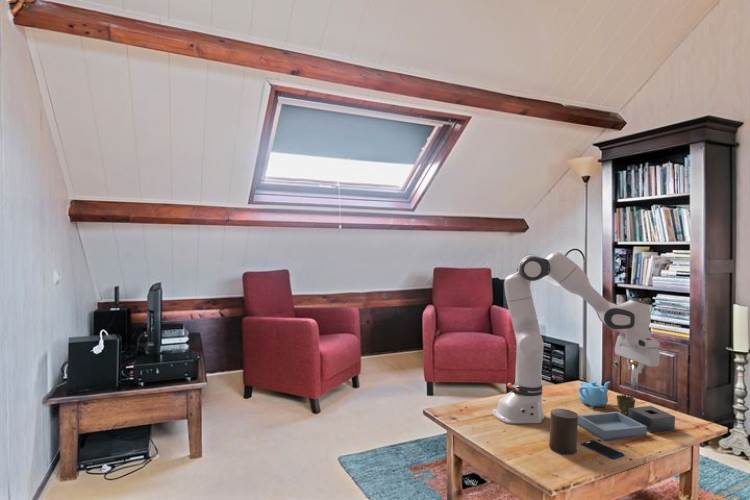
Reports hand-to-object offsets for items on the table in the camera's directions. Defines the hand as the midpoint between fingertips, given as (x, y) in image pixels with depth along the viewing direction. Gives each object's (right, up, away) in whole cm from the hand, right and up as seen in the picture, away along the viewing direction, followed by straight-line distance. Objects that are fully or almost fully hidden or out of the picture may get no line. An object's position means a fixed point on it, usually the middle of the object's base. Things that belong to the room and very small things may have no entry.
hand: (634, 371), depth 196 cm
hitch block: (+8, -24, +3) cm, 25 cm away
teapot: (-4, -23, +27) cm, 36 cm away
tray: (-11, -24, -2) cm, 26 cm away
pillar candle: (-38, -25, -19) cm, 49 cm away
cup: (+4, -24, +15) cm, 28 cm away
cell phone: (-23, -25, -20) cm, 39 cm away
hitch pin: (0, -8, 0) cm, 8 cm away
